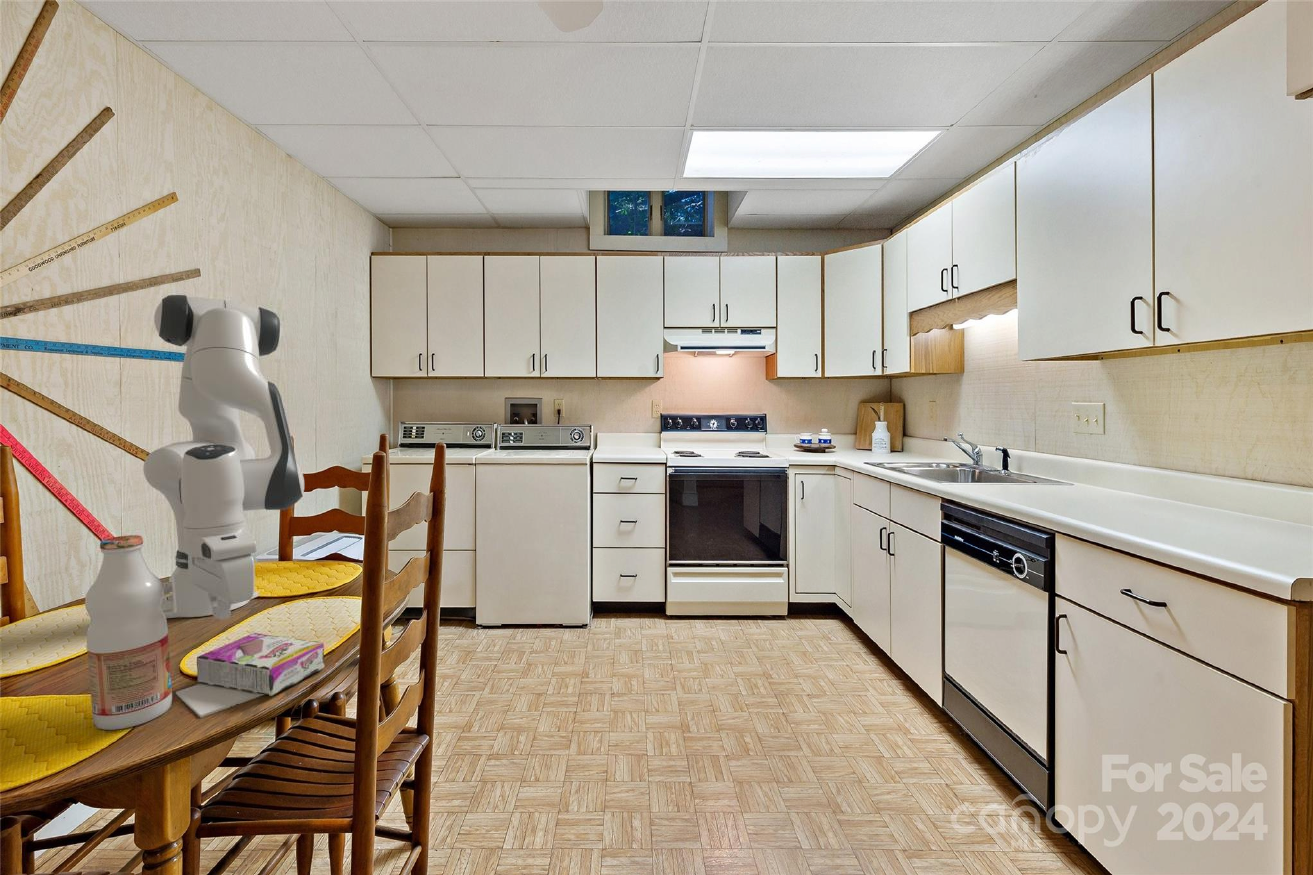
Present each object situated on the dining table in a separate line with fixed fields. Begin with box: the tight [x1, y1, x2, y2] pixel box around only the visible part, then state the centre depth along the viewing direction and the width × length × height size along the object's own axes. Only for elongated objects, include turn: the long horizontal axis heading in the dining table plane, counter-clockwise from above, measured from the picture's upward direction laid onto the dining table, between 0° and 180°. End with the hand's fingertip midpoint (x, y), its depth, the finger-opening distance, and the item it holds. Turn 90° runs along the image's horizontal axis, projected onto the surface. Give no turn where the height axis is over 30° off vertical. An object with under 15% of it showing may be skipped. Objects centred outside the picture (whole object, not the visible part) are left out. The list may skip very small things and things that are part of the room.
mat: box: [175, 681, 299, 719], centre depth 103 cm, size 12×14×1 cm
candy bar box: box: [196, 632, 325, 697], centre depth 106 cm, size 11×5×16 cm
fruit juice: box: [84, 534, 173, 731], centre depth 93 cm, size 9×9×28 cm
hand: (221, 617), depth 106 cm, fingers closed
